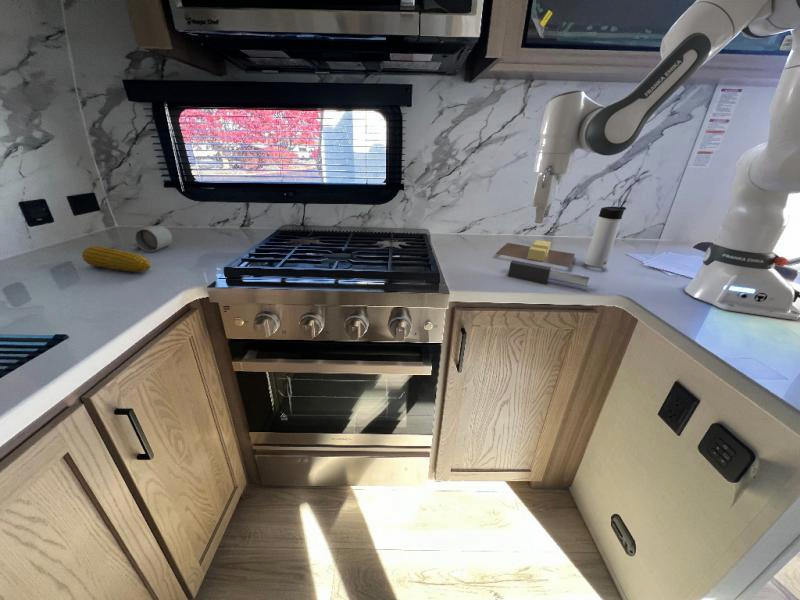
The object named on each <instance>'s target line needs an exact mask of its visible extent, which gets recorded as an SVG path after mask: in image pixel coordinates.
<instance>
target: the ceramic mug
mask: <svg viewBox="0 0 800 600" xmlns="http://www.w3.org/2000/svg"><path fill="white" fill-rule="evenodd" d="M134 241H135V243H134V247H135V248H136V249H140V250H142V251H144V252H147V253H153V252H156V251H159V250H161V249H163V248H166V247H168V246H169V245H171V244H172V242H173V233H172V232H171V231H170V229H168V228H167V227H165V226H163V225H152V226H149V227H142V228H139V229H138V230H136V232H135V235H134Z"/></svg>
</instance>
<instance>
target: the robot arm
mask: <svg viewBox="0 0 800 600" xmlns="http://www.w3.org/2000/svg"><path fill="white" fill-rule="evenodd" d="M788 31H790V34H791V39H792V44H791V45H792V46H791V50H790V53H789V54H788V57H787V59H786V62H785V64H784V67H783V69H782V72H781V75H780V78H779V80H778V83H777V86H776V88H775V91H774V95H773V97H772V99H771V103H770V106H769V108H768V117H769V131H768V139H767V141H765V142H762V143H760V144H758V145H756V146H753V147H752V148H749V149H748V150H746V151H745V152H744V153H742V155H740V156H739V157H738V158H737V161H736V163H735V166H734V181H733V184H732V189H731V193H730V199H729V203H728V207H727V210H726V214H725V216H724V218H723V221H722V223H721V225H720V227H719V229H718V232H717V234H716V236H715V238H714V241H711V243H710V245H709V246H708V248H707V249H706V251H705V254H704V256H703V259H702V264H701V266H700V268H699V269H698V270H697V272H696V274H695V275H694V277H693V278H692V279H691V281H689V283H688V284H687V285H686V286H685V287H684V292H685V293H687V294H688V295H689V296H692V297H693V298H696V299H697V300H700V301H703V302H705V303H709V304H711V305H713V306H714V307H717V308H720V309H721V310H724V311H729V312H730V311H731V312H738V313H742V314H743V313H744V314H751V315H756V316H757V315H758V316H764V317H772V318H778V319H785V320H792V321H798V320H799V319H800V310H799V309H798V308H797V307H795V306H794V305H793V303H796V301H797V299H800V291H798V290H797V289H795V288H794V287H793V286H792V285H791V284H790V282H788V280H786V278H784V276H783V275H782V274H780V272H779V271H777V270H776V268H775V267H776V266H778V267H779V268H781V267H785V266H788V264H789V260H788V259H787V258H785V257H784V256H780V255H778V254H777V253H775V252H773V251H774V249H775V248H776V246H777V244H778V243H779V240H780V238H781V237H782V235H783V233H784V231H785V229H786V227H787V226H788V224H789V220H790V215H789V203H790V199H791V195H793V194H800V0H695V1H694V3H693V4H691V6H689V7H688V8H687V9H686V11H684V12H683V13H682V14H681V16H680V17H679V18H678V19H677V20H676V21H674V23H673V24H672V26H671V27H670V28H669V29H668V31H667V33H666V34H664V36H663V38H662V39H661V43H660V48H659V53H660V58H661V60H660V61H659V63H658V64H657V65H656V66H655V67H654V68H653V69H652V70H651V71H650V72H649V73H648V74H647V76H645V77H644V78H643V79H642V80H641V81H640V83H639V84H637V85H636V87H634V88H633V90H631V92H629V94H628V95H627V96H625V97H623V98H622V99H620V100H618V101H616V102H614V103H612V104H609V105H607V106H604V105H602V104H599V103H597V102H596V101H594V100H593V99H592V98H590V97H589V96H588V95H587V94H586V92H585V91H583V90H571V91H567V92H563V93H559V94H557V95H555V96H553V97H552V98H551V99H550V100H549V101H548V102H547V104H546V106H545V109H544V114H543V117H542V121H541V126H540V131H539V132H540V133H539V145H538V147H537V148H536V149H537V150H536V153H535V159H534V165H533V170H532V172H533V173H536V174H537V177H536V182H535V187H534V192H533V197H532V201H531V202H532V203H531V205H532V207H535V220H534V223H535V224H543V222H544V219H545V218H548V217H549V214H550V211H551V208H552V204H553V202H554V201H555V200H556V199H557V198H558V196H559V194H560V190H561V187H562V183H563V181H564V178H565V175H569V174H570V173H571V170H572V165H573V160H574V156H575V152H576V150H577V149H578V150H581V151H583V152H586V153H593V154H598V155H601V156H607V157H608V156H615V155H617V154H620V153H622V152H624V151H626V150H627V149H629V148H630V147H631V146H632V145H633V144H634V143H635V142H636V140H637V139H638V137H639V136H640V134H641V133H642V130H643V129H644V127H645V125H646V124H647V122H648V120H649V119H650V118H651V117H652V115H653V114H655V112H656V111H657V110H659V108H660V107H661V106H663V104H664V103H666V101H667V100H668V99H670V97H672V96H673V94H674V93H675V92H676V91H677V90H678V89H679V88H680V87H682V86H683V84H684V83H685V82H686V81H688V80H689V79H690V78H691V77H692V76H693V75H694V73H695V72H697V71H698V70H699V69H700V68H701V67H703V66H704V65H705V64H706V63H707V62H708V61H710V60H711V59H712V58H714V57H715V55H717V54H718V53H719V52H720V51H722V50H723V49H724V48H725V47H726V46H728V44H729V43H730V42H731V41H732V40H734V38H736V37H737V36H738V35H739V34H741V35H742V36H743V37H746V38H748V39H752V40H753V39H754V40H760V39H766V38H772V37H774V36H775V35H778V34H781V33H785V32H788Z"/></svg>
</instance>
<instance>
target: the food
mask: <svg viewBox="0 0 800 600" xmlns="http://www.w3.org/2000/svg"><path fill="white" fill-rule="evenodd" d="M81 257H82V259H83V261H84V263H86V264H88V265H90V266H94V267H99V268H100V267H101V268H103V269H110V270H116V271H117V270H118V271H125V272H131V273H132V272H135V273H141V272H146V271H149V270H150V269H151V264H150V263H151V262H150V261H149V260H148V259H147V258H146V257H145V256H143V255H142V256H141V255H140V254H138V253H135V252H129V251H124V250H119V249H114V248H108V247H103V246H88V247H87V248H85V249H84V250H83V251H82V255H81Z"/></svg>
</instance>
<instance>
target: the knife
mask: <svg viewBox="0 0 800 600" xmlns="http://www.w3.org/2000/svg"><path fill="white" fill-rule="evenodd" d="M507 276H508V277H509V278H514V279H519V280H524V281H527V282H532V283H533V282H534V283H538V284H542V285H547V284H550V285H554V286H559V287H563V288H568V289H573V290H577V291H583V292H586V289H587V287H588V283H589V280H590V277H589V276H583V275H579V274H573V273H568V272H563V271H558V270H552V267H550V266H545V265H541V264H540V265H539V264H534V263H530V262H524V261H519V260H513V259H512V260H511V261H510V264H509V269H508V273H507Z"/></svg>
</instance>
